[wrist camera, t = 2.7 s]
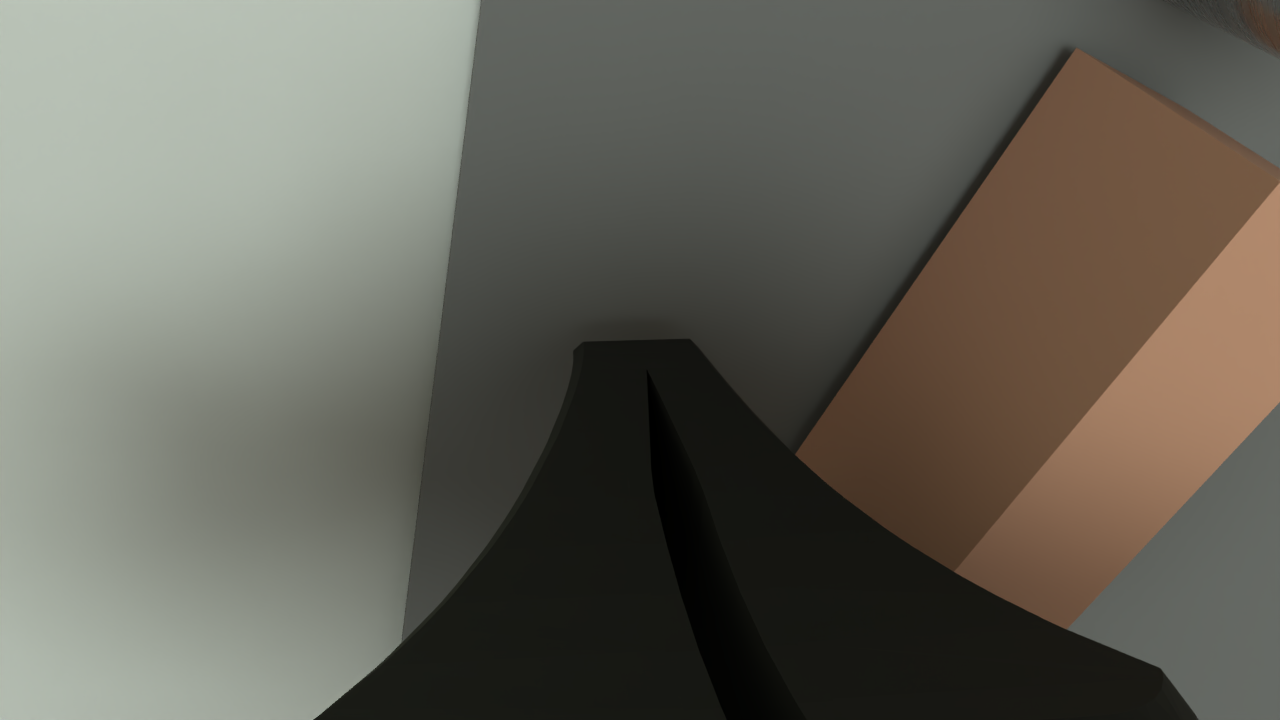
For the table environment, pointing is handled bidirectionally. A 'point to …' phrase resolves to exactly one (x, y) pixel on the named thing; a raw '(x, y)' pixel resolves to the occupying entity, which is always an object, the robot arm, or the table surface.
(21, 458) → the table surface
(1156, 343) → the tan rectangular bar
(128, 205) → the table surface
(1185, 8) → the hinge post
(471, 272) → the mat
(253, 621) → the table surface
